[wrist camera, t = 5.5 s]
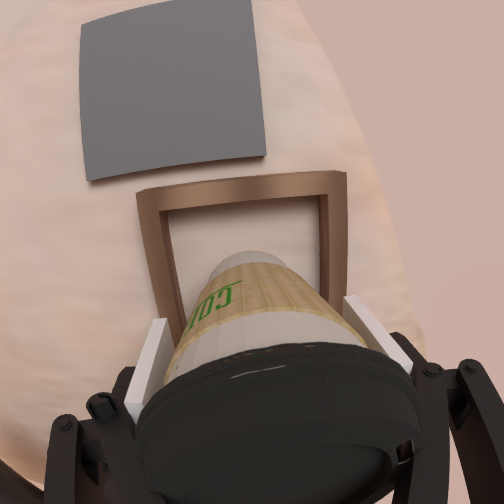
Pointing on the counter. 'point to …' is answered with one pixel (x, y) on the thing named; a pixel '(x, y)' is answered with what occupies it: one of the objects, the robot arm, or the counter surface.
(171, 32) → the trivet mat
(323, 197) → the walnut collar
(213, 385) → the coffee cup
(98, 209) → the counter surface
